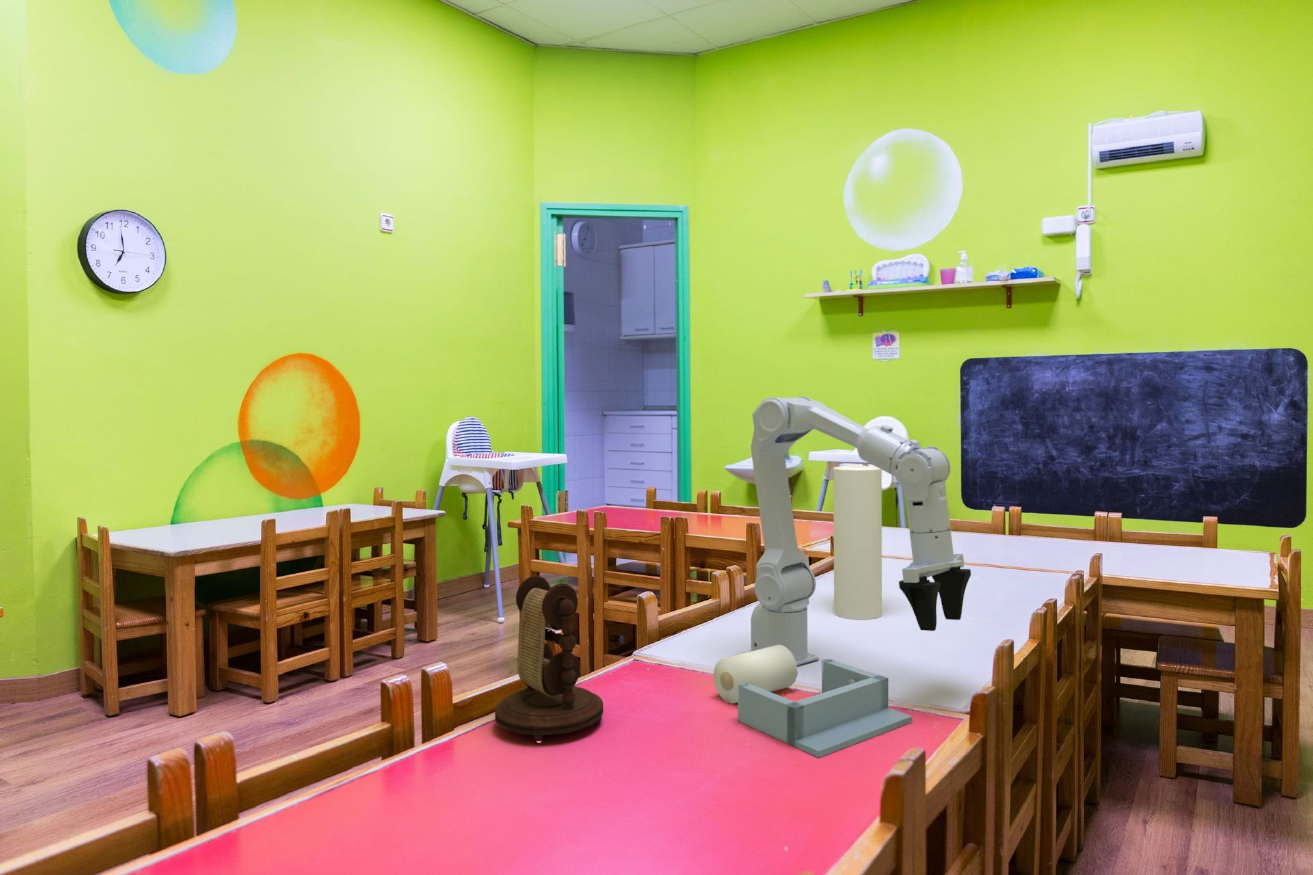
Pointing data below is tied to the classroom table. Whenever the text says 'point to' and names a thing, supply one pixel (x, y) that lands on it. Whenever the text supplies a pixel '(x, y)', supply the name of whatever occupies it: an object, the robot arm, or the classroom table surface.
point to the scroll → (547, 666)
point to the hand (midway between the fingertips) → (940, 624)
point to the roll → (755, 671)
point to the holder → (824, 711)
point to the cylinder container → (857, 542)
